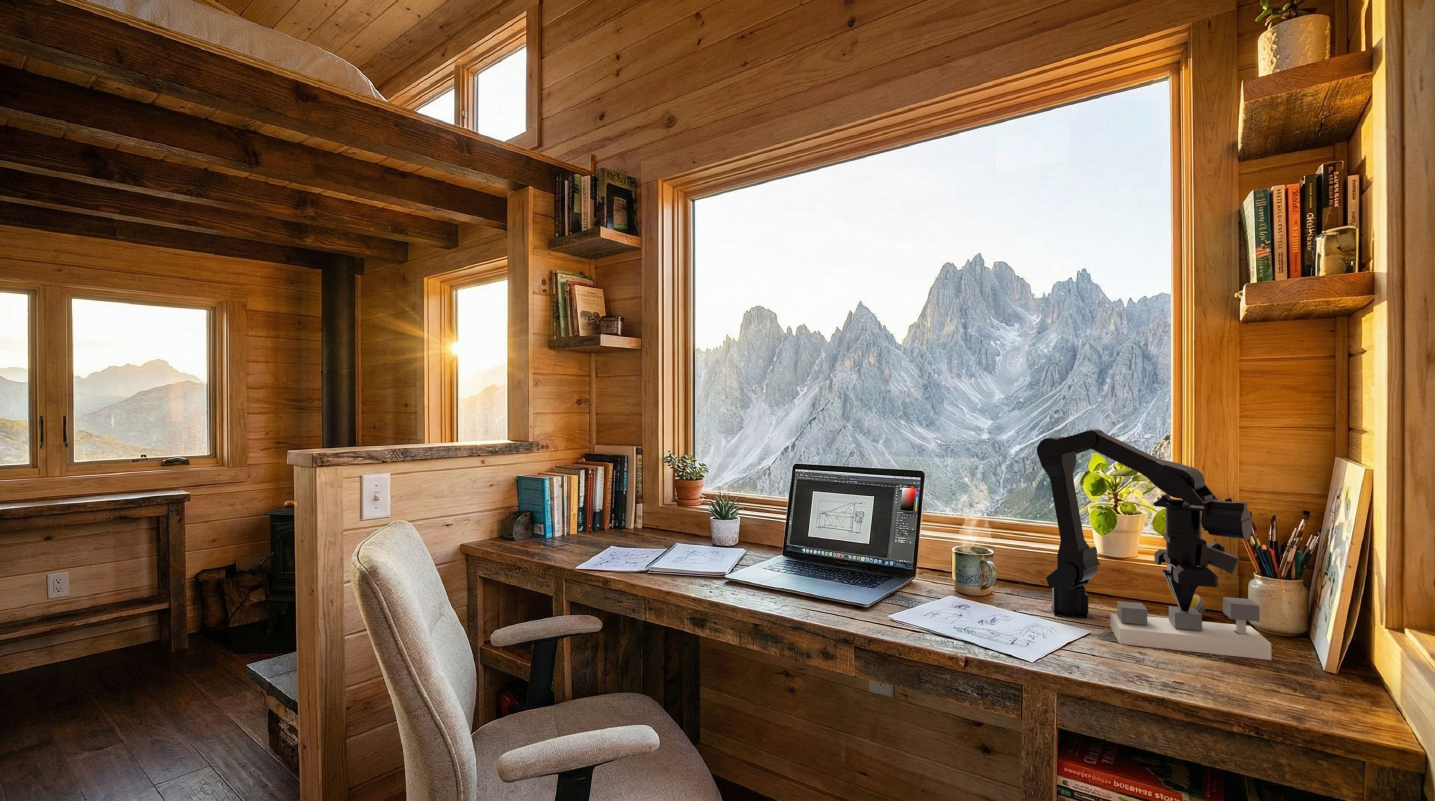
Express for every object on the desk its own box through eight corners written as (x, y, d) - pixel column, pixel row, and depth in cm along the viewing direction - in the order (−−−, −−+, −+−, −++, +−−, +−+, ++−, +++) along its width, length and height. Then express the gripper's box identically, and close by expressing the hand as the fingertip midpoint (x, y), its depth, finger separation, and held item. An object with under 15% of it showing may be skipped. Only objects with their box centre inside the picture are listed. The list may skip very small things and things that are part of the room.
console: (1120, 643, 129) (1119, 628, 129) (1110, 627, 139) (1110, 612, 139) (1271, 659, 121) (1271, 643, 121) (1250, 641, 130) (1250, 625, 130)
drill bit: (1210, 623, 142) (1172, 590, 143) (1188, 626, 146) (1152, 594, 148) (1217, 604, 144) (1180, 572, 146) (1196, 608, 149) (1160, 576, 150)
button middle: (1175, 643, 128) (1174, 612, 128) (1169, 635, 132) (1168, 606, 132) (1202, 646, 127) (1201, 615, 127) (1195, 638, 131) (1194, 608, 131)
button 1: (1121, 637, 132) (1121, 607, 132) (1117, 630, 136) (1117, 601, 136) (1147, 640, 130) (1147, 609, 130) (1142, 632, 134) (1142, 603, 134)
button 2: (1231, 635, 125) (1230, 603, 125) (1223, 627, 129) (1222, 596, 129) (1259, 637, 123) (1259, 605, 123) (1250, 630, 128) (1250, 599, 128)
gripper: (1252, 543, 118) (1253, 631, 118) (1216, 525, 135) (1217, 601, 135) (1178, 539, 122) (1179, 624, 122) (1153, 522, 139) (1154, 595, 139)
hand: (1184, 610), depth 130 cm, fingers closed, pressing on button middle
